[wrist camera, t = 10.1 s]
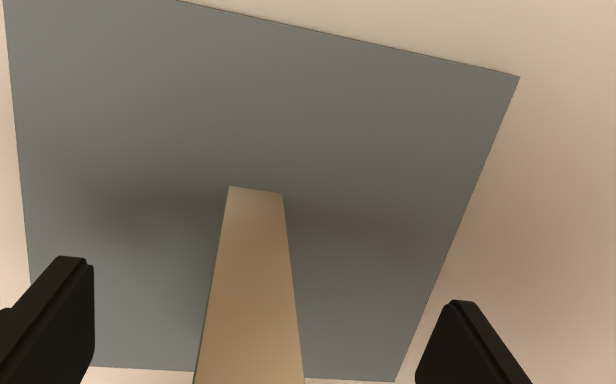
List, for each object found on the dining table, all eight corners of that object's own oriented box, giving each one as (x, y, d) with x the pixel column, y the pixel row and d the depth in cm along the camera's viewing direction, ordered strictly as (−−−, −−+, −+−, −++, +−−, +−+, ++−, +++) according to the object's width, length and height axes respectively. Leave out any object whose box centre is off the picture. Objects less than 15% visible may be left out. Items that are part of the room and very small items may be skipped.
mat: (509, 74, 13) (520, 76, 13) (390, 371, 19) (394, 382, 18) (12, -37, 10) (-2, -39, 10) (46, 351, 16) (38, 363, 15)
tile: (307, 408, 6) (244, 614, 9) (282, 193, 13) (251, 344, 16) (187, 403, 6) (160, 619, 9) (227, 185, 13) (205, 341, 16)
